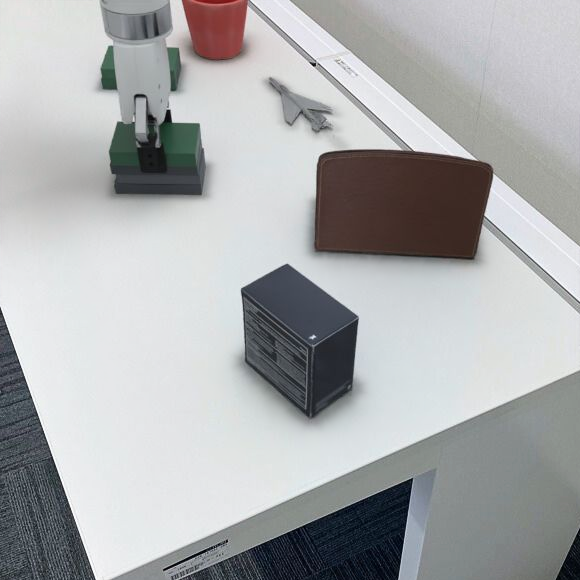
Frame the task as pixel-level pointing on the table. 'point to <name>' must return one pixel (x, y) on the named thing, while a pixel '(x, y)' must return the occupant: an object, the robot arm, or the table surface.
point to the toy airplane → (301, 107)
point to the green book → (175, 136)
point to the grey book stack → (161, 179)
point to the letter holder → (400, 202)
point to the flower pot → (216, 26)
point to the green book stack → (110, 76)
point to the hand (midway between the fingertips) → (157, 153)
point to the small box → (299, 338)
